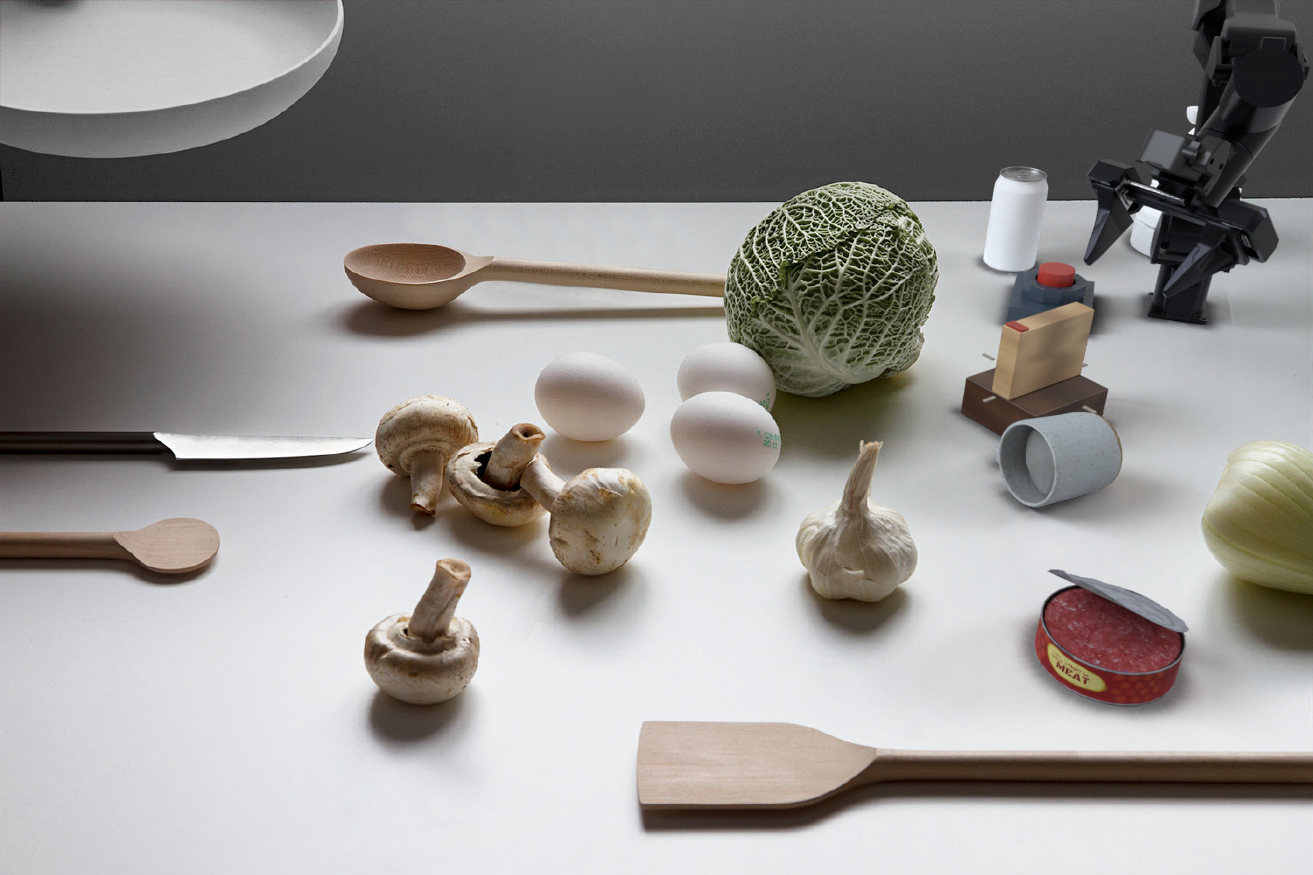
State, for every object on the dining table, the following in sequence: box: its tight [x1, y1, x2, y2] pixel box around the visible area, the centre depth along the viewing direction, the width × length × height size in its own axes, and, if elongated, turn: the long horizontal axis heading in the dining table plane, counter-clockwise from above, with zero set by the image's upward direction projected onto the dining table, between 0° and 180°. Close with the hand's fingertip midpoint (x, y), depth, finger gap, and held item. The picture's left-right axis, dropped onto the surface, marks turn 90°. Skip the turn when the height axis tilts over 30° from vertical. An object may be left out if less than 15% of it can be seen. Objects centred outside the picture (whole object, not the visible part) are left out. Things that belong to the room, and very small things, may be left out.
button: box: [1037, 261, 1077, 288], centre depth 132 cm, size 4×4×2 cm
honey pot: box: [1129, 105, 1243, 257], centre depth 146 cm, size 13×13×18 cm
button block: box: [1005, 268, 1096, 324], centre depth 133 cm, size 11×9×4 cm
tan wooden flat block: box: [992, 302, 1095, 400], centre depth 108 cm, size 10×2×7 cm, turn 121°
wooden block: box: [960, 352, 1109, 437], centre depth 111 cm, size 14×14×4 cm
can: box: [983, 166, 1049, 274], centre depth 143 cm, size 6×6×12 cm
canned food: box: [1033, 568, 1190, 707], centre depth 81 cm, size 11×10×10 cm
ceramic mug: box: [994, 412, 1124, 508], centre depth 100 cm, size 11×8×8 cm
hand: (1124, 278), depth 110 cm, fingers open, 9 cm apart
